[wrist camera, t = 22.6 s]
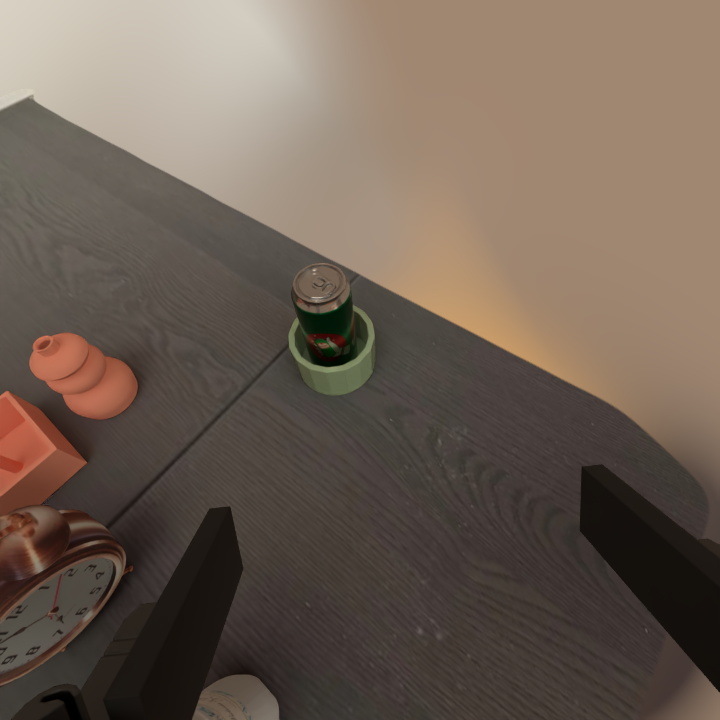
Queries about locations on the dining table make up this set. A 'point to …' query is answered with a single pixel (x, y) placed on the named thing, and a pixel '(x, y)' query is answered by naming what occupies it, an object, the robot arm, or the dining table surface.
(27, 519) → the alarm clock
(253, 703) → the bottle
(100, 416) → the pottery
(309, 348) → the soda can
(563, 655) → the dining table surface
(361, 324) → the cup
